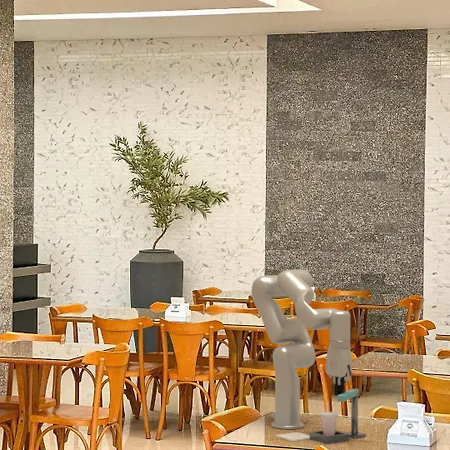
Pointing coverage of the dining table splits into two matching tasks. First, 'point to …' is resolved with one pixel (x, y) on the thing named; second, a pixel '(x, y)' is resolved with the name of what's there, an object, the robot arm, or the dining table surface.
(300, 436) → the coaster pad
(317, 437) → the dark grey square tray
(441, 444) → the dining table surface
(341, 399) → the teal bar
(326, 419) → the smoothie
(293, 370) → the robot arm
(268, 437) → the dining table surface
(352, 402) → the post
